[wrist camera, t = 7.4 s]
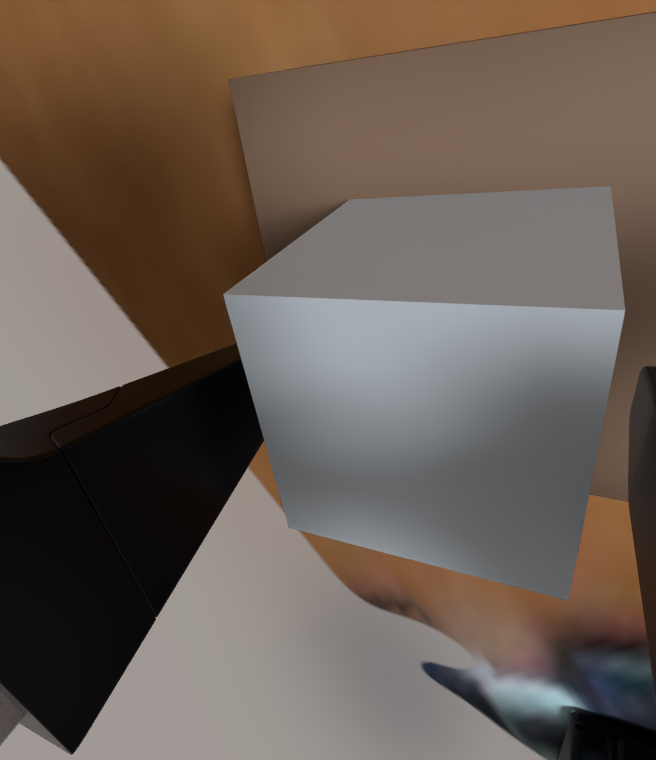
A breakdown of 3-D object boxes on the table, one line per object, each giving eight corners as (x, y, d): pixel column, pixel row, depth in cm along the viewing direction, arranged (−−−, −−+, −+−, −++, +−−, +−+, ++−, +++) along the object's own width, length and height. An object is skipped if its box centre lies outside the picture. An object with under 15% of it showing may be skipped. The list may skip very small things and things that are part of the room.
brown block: (660, 432, 14) (674, 510, 12) (339, 388, 18) (303, 440, 16) (796, -11, 9) (867, -21, 6) (292, 69, 13) (228, 79, 10)
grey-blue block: (575, 411, 11) (567, 600, 8) (372, 387, 13) (289, 527, 10) (611, 185, 9) (625, 311, 5) (349, 199, 11) (222, 294, 7)
